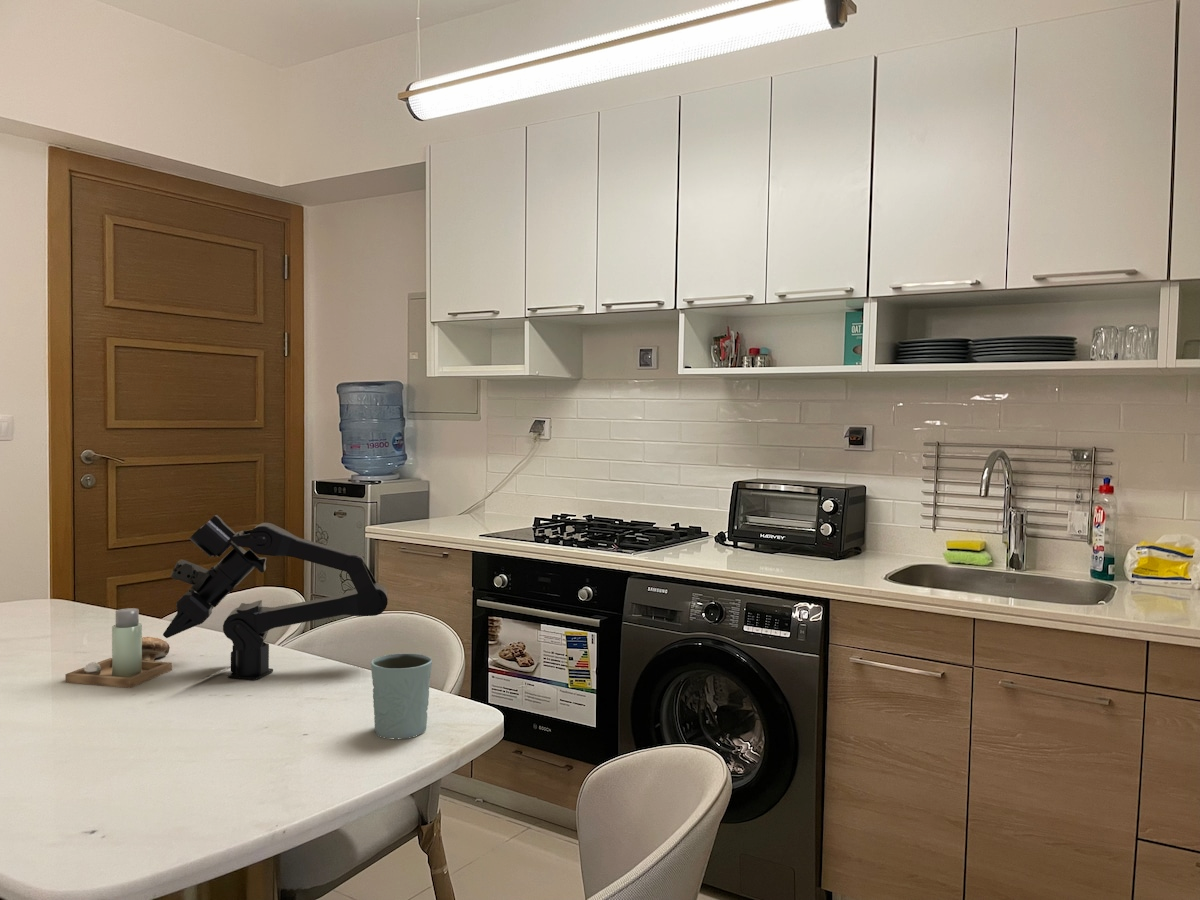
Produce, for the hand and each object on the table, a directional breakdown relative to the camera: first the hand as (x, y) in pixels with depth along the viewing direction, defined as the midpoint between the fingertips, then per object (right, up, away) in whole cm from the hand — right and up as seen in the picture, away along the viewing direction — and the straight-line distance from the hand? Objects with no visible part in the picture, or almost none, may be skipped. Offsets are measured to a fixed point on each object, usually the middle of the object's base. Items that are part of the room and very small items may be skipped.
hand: (169, 630), depth 178 cm
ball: (-13, -8, -3) cm, 16 cm away
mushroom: (-10, -9, +11) cm, 17 cm away
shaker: (-8, -9, -2) cm, 12 cm away
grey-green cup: (+51, -12, -25) cm, 59 cm away
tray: (-9, -10, -2) cm, 13 cm away
